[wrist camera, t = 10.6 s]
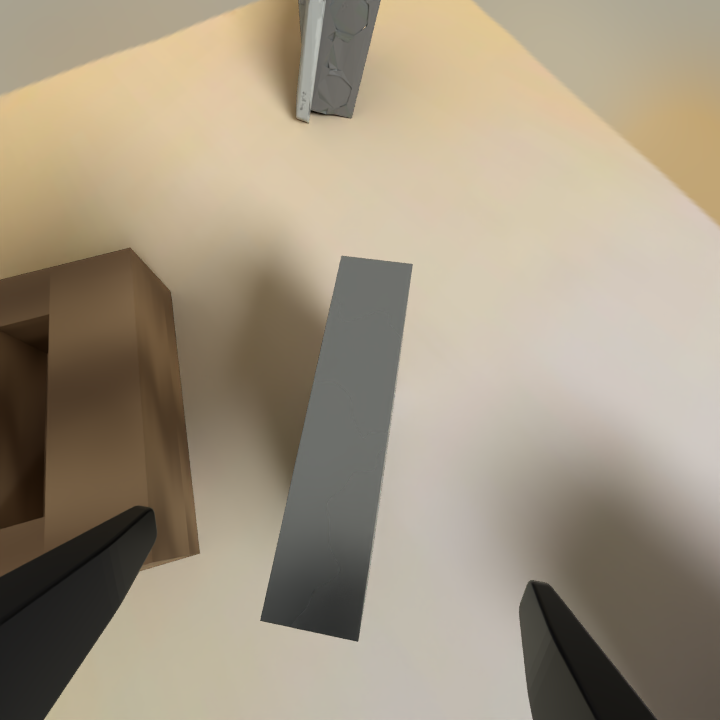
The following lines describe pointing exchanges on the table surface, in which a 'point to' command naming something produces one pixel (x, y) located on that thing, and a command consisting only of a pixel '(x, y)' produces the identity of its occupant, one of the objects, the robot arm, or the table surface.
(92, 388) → the walnut slot box
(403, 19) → the table surface
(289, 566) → the gray rectangular metal block
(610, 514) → the table surface
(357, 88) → the electrical switch
